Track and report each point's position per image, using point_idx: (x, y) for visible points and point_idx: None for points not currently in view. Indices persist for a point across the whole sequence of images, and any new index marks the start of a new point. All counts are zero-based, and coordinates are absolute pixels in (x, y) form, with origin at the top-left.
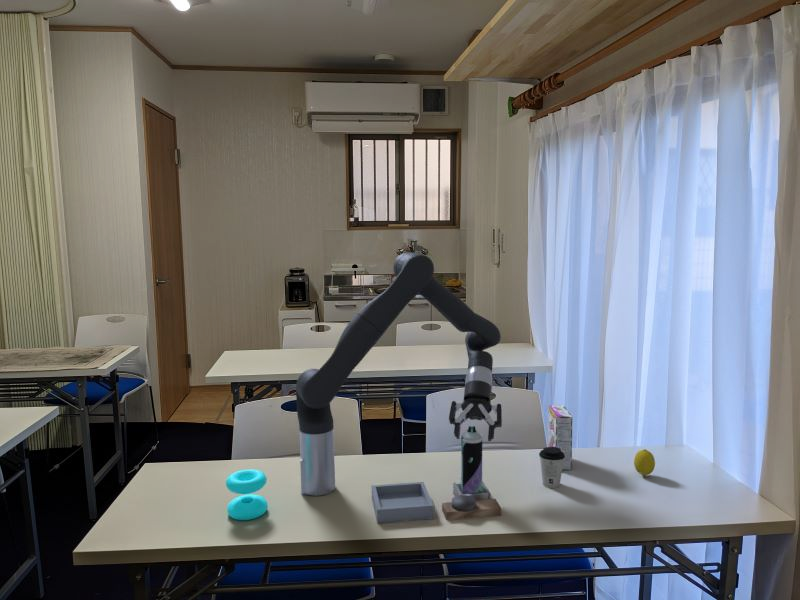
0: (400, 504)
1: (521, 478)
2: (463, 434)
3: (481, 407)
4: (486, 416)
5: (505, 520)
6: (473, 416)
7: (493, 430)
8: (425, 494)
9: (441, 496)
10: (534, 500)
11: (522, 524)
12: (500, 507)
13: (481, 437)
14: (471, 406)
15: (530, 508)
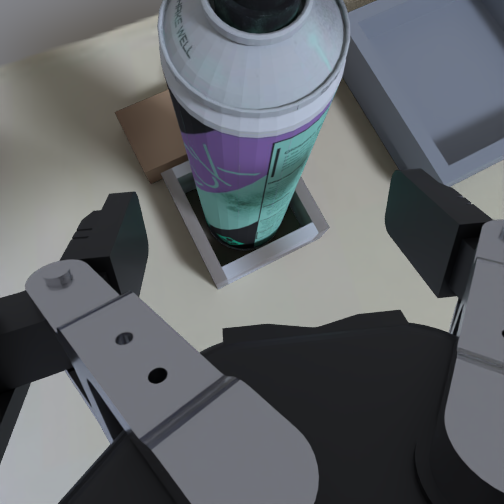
0: (456, 79)
1: (72, 474)
2: (331, 2)
3: (218, 428)
4: (119, 303)
5: (105, 100)
6: (341, 327)
7: (71, 248)
8: (394, 84)
9: (352, 203)
10: (11, 271)
11: (49, 90)
12: (117, 113)
13: (160, 17)
14: (478, 409)
15: (25, 203)
